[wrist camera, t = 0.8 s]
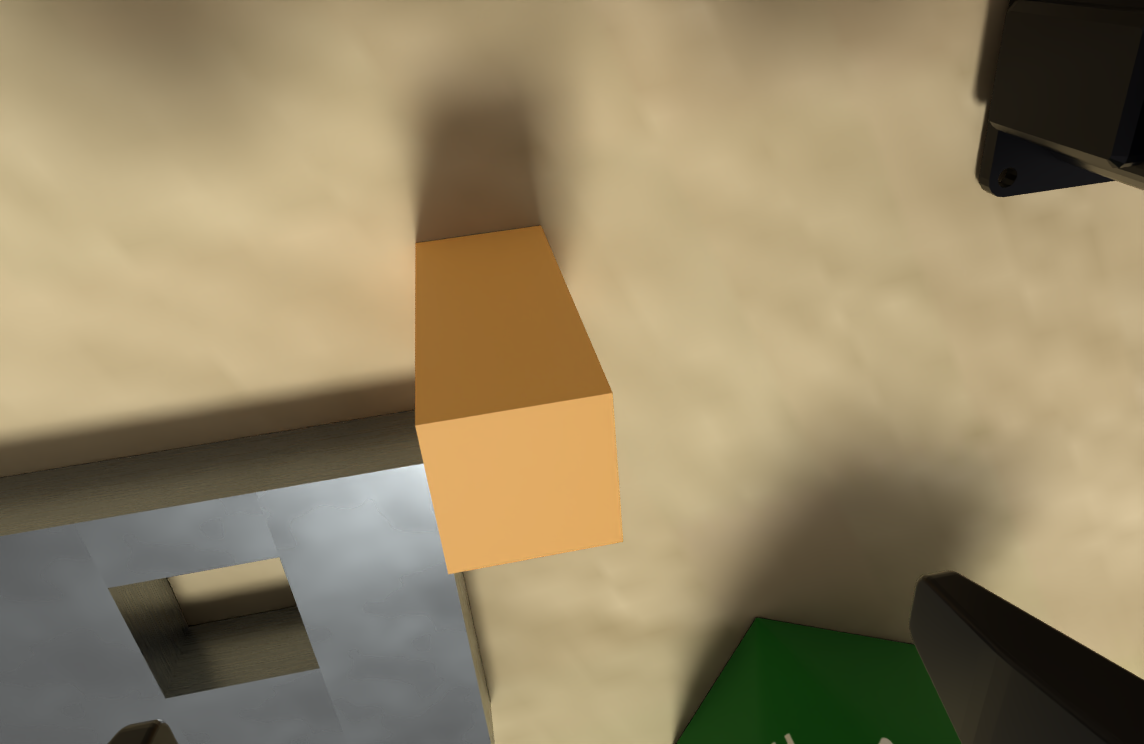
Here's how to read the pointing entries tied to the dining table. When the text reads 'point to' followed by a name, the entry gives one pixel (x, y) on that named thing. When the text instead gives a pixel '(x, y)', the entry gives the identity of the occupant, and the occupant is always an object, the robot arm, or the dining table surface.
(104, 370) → the dining table surface
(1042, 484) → the dining table surface
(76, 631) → the gray slab with hole
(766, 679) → the milk carton
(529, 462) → the tan rectangular box
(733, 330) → the dining table surface
